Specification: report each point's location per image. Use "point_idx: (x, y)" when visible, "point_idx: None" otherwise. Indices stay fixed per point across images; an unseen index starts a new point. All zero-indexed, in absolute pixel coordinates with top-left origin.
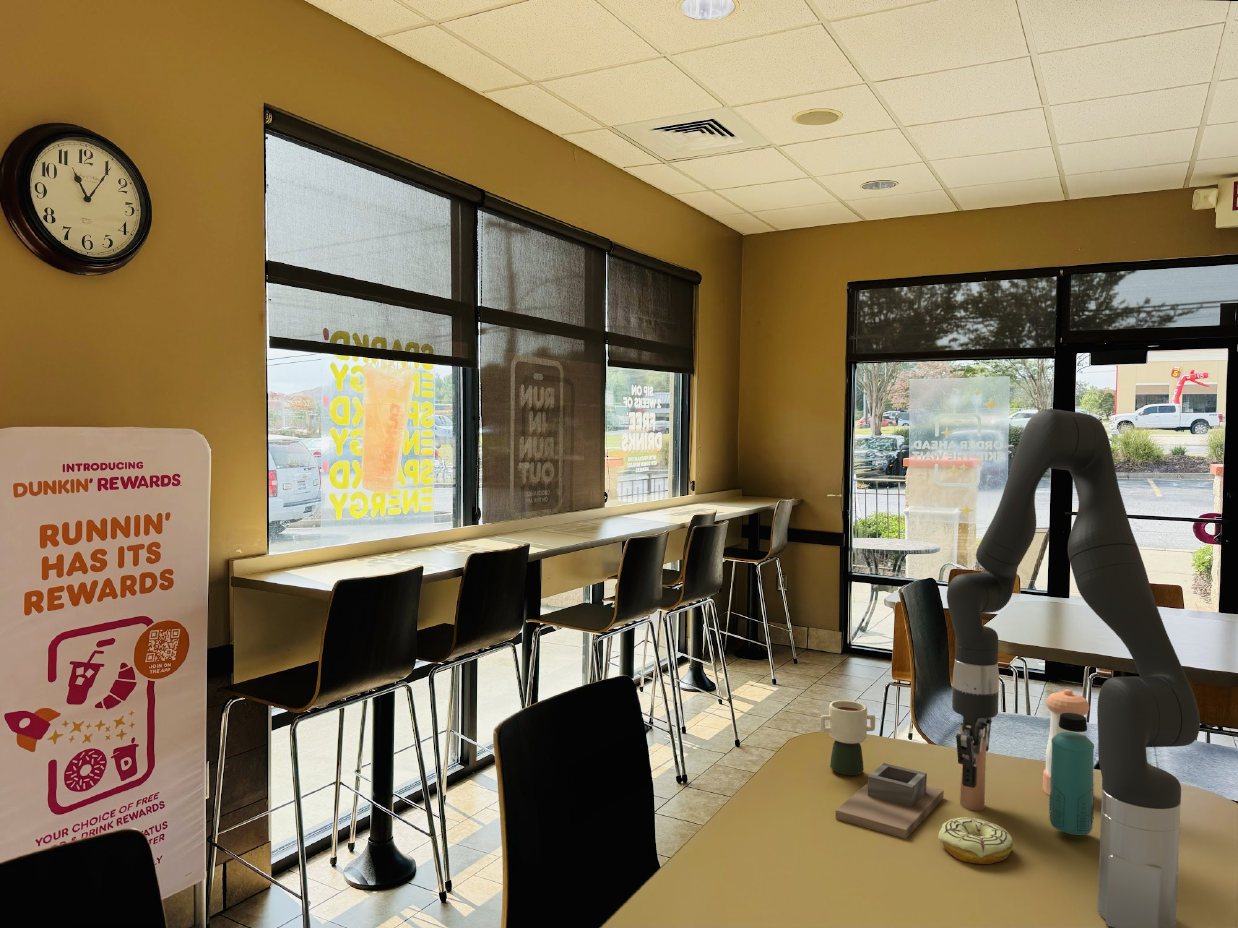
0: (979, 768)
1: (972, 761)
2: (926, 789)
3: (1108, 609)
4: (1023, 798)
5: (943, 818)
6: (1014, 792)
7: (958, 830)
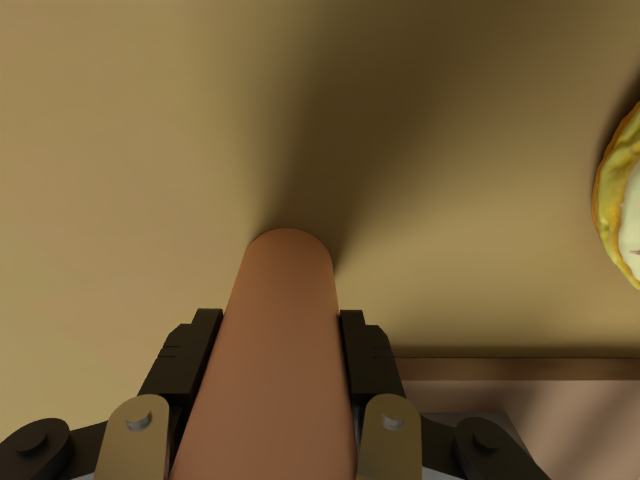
0: (330, 367)
1: (531, 464)
2: None
3: None
4: (41, 106)
5: (464, 315)
6: (6, 158)
7: None
